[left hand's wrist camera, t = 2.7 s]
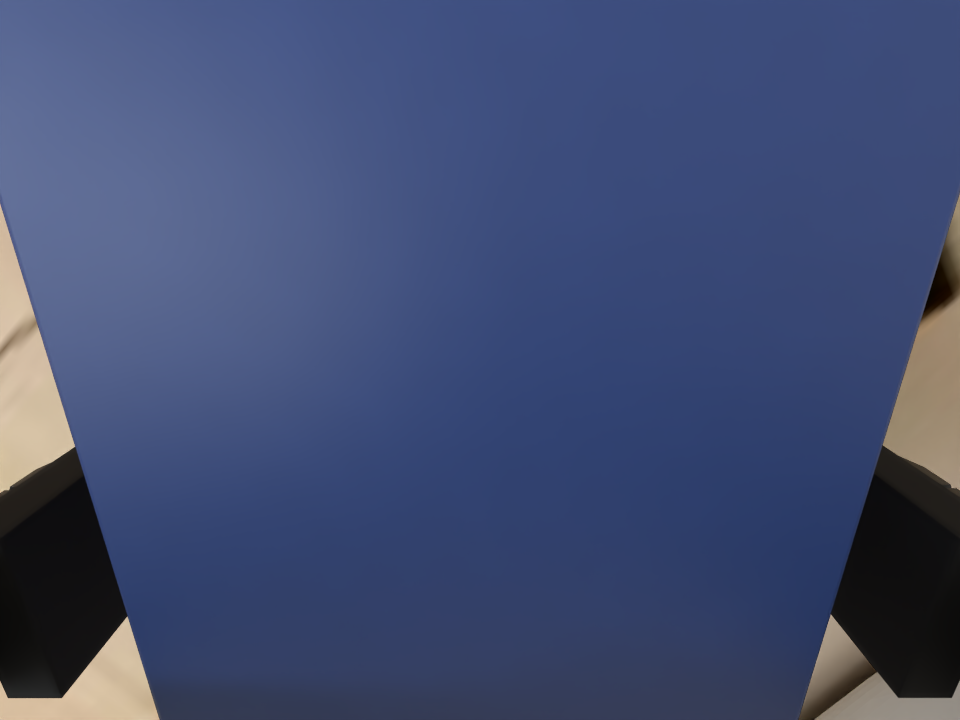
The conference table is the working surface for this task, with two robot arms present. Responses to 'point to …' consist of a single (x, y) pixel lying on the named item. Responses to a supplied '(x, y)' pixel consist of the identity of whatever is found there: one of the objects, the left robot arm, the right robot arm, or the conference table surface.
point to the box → (479, 334)
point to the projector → (890, 705)
